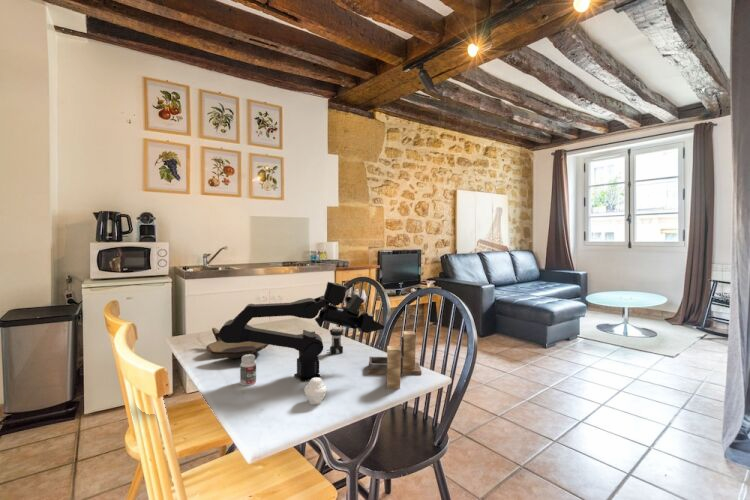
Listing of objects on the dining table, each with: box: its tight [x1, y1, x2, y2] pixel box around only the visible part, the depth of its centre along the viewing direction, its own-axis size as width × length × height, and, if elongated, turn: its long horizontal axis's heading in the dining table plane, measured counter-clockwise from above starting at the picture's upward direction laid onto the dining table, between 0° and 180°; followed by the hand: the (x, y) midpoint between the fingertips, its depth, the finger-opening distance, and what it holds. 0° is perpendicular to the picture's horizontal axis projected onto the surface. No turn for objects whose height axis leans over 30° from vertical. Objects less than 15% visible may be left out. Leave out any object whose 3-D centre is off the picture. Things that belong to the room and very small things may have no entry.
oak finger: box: [386, 345, 403, 389], centre depth 111 cm, size 5×4×12 cm
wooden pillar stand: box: [367, 330, 422, 376], centre depth 124 cm, size 18×8×13 cm, turn 90°
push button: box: [325, 326, 344, 355], centre depth 140 cm, size 7×5×10 cm
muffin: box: [304, 377, 328, 406], centre depth 99 cm, size 6×6×7 cm
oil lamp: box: [206, 327, 269, 359], centre depth 138 cm, size 22×30×8 cm
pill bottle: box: [239, 354, 257, 387], centre depth 111 cm, size 5×5×8 cm
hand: (377, 325), depth 125 cm, fingers open, 9 cm apart
